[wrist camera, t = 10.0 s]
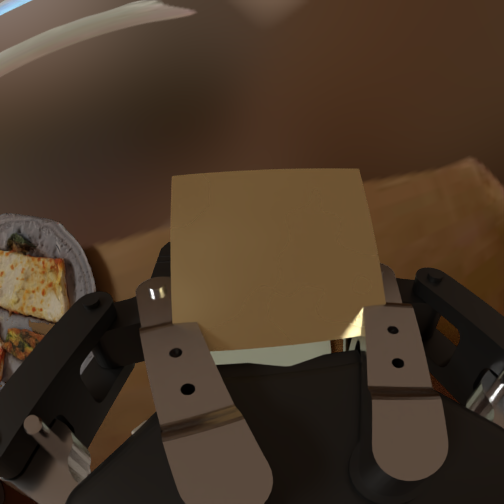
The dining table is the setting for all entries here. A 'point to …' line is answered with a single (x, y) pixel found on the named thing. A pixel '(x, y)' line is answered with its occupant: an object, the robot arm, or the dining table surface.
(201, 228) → the tan rectangular block
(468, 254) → the dining table surface
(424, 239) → the dining table surface
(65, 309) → the food plate
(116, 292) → the dining table surface
